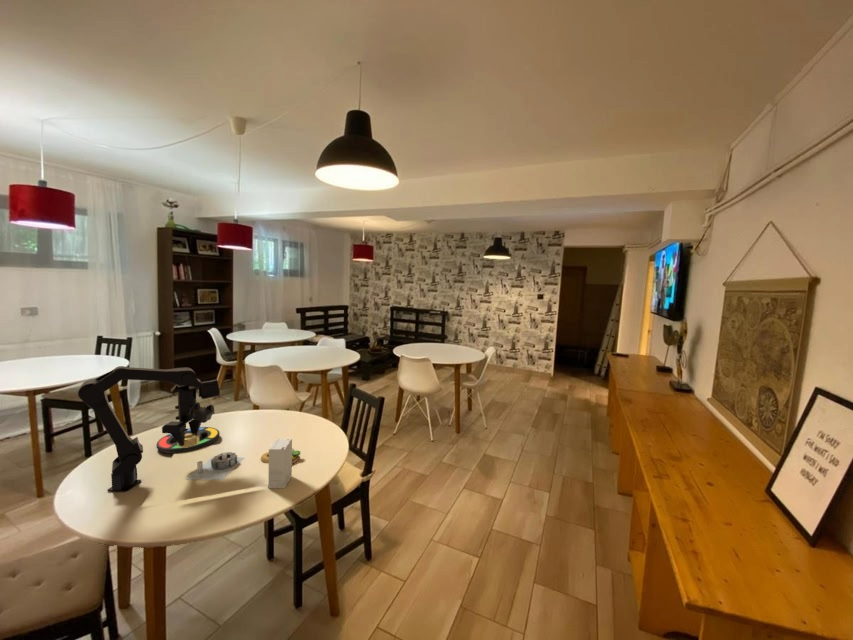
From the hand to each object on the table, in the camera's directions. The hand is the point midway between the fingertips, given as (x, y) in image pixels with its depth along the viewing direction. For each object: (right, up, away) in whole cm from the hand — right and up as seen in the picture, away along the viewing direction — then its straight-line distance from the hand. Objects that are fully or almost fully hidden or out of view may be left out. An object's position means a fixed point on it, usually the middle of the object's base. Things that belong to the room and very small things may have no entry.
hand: (188, 441), depth 128 cm
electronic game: (-15, -9, +22) cm, 28 cm away
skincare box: (+38, -13, -6) cm, 40 cm away
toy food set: (+31, -12, +10) cm, 35 cm away
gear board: (+11, -11, 0) cm, 15 cm away
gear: (+12, -10, +3) cm, 16 cm away
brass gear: (0, -1, 0) cm, 1 cm away
